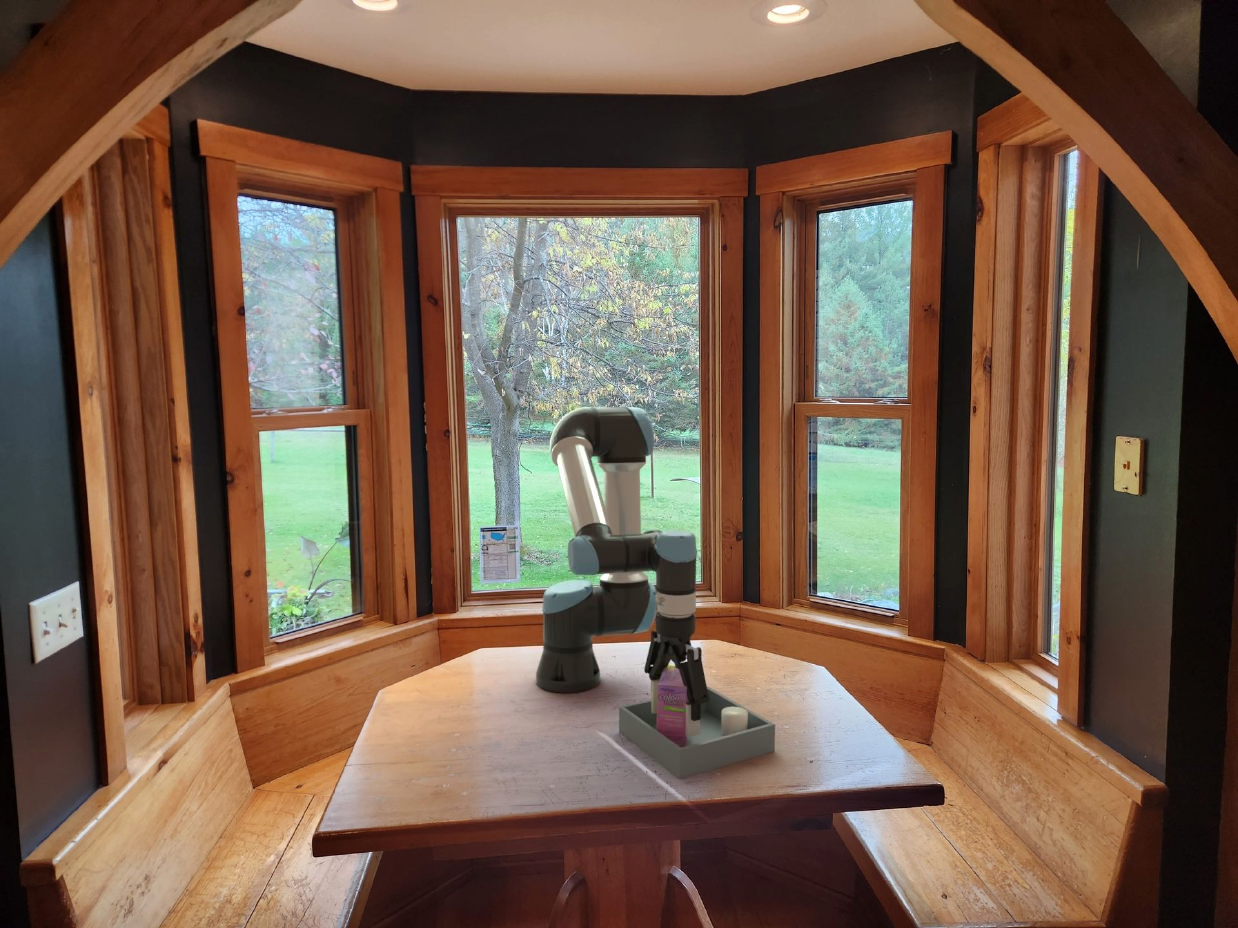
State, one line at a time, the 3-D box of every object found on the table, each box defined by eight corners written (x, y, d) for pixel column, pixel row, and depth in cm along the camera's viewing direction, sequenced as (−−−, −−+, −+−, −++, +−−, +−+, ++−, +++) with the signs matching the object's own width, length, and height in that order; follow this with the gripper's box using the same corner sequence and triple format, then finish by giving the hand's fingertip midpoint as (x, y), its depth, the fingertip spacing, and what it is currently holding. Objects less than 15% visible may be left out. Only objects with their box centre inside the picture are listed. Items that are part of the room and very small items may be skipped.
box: (686, 747, 144) (687, 686, 143) (656, 744, 146) (656, 683, 144) (692, 724, 155) (693, 666, 153) (664, 721, 156) (664, 664, 155)
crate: (619, 735, 155) (619, 706, 155) (707, 713, 166) (707, 686, 165) (679, 783, 137) (679, 750, 136) (774, 754, 147) (775, 724, 147)
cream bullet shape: (716, 739, 152) (716, 709, 151) (736, 733, 154) (736, 704, 154) (731, 749, 148) (732, 719, 147) (752, 743, 150) (753, 713, 150)
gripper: (627, 600, 156) (627, 704, 158) (695, 632, 136) (694, 752, 138) (658, 595, 160) (658, 697, 162) (729, 626, 139) (728, 743, 141)
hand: (674, 723), depth 150 cm, fingers closed on box, 11 cm apart
